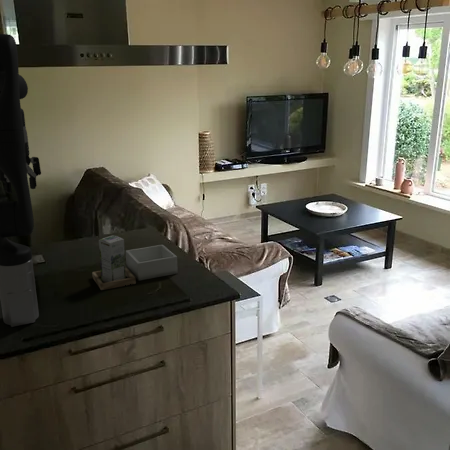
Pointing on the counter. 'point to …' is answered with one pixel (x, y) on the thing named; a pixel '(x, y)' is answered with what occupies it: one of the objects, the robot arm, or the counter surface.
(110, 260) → the syrup box
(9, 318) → the robot arm
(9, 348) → the counter surface
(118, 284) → the socket collar
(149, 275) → the bin
